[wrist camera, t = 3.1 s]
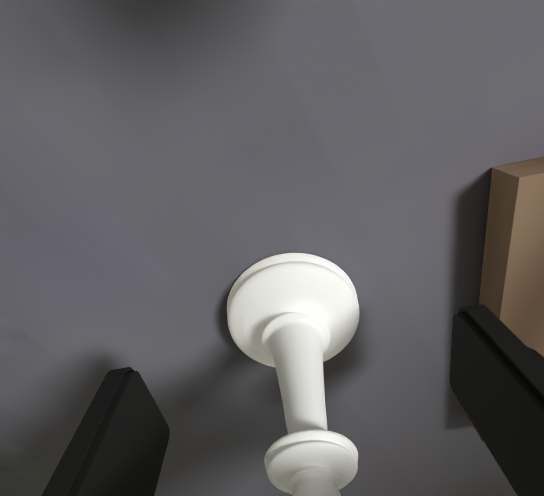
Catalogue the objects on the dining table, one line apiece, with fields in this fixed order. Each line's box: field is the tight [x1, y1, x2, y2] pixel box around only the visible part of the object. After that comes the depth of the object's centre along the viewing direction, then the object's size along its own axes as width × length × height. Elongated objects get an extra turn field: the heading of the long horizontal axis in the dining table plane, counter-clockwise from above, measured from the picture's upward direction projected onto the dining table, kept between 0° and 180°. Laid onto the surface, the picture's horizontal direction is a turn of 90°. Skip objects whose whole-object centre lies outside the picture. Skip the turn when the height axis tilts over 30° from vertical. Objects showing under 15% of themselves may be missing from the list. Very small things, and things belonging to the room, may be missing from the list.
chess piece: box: [227, 253, 359, 496], centre depth 8 cm, size 5×5×10 cm
